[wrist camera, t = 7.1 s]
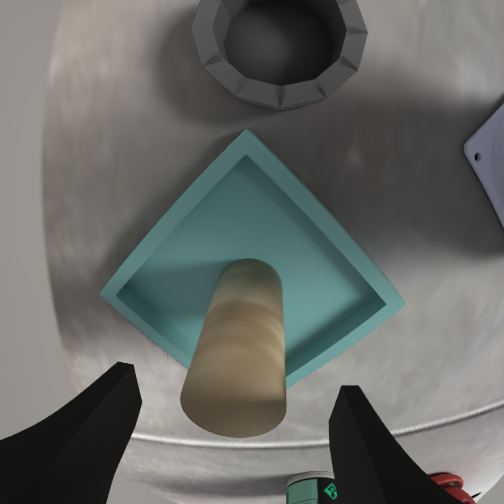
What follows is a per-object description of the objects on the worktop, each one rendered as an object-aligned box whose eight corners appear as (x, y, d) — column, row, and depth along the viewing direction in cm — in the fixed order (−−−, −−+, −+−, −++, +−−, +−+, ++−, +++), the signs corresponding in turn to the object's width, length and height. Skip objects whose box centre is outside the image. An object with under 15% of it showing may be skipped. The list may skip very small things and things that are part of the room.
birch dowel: (295, 280, 17) (308, 399, 9) (259, 324, 18) (249, 447, 11) (239, 245, 17) (210, 352, 9) (206, 295, 18) (164, 411, 10)
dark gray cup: (373, 54, 13) (397, 38, 10) (278, 137, 15) (280, 140, 12) (277, -31, 11) (277, -63, 8) (183, 50, 13) (160, 33, 10)
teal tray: (395, 288, 18) (405, 304, 16) (250, 392, 21) (248, 410, 20) (249, 128, 15) (246, 128, 13) (111, 280, 19) (98, 294, 17)
